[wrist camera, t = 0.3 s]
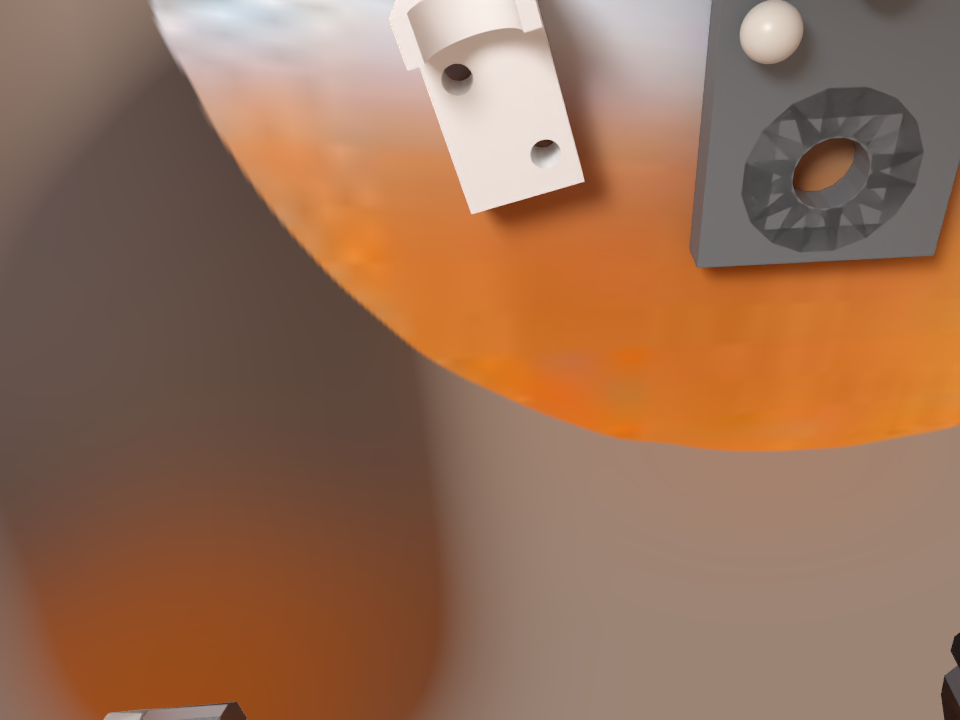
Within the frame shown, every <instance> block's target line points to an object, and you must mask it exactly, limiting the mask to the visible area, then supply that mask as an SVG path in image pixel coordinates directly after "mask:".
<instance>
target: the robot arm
mask: <svg viewBox="0 0 960 720" xmlns="http://www.w3.org/2000/svg"><path fill="white" fill-rule="evenodd" d="M951 653H952V655H953V657H954V659H955V661H956V662H957V666H956V667H955V668H954V669H952V670H951V671H950V672H948V673H947V674H946V675H945V676H944V682H943V686H942V692H941V698H942V706H943V713H944V720H960V633H958V634H957V635H956V636H955V637H954V640H953V644H952V648H951ZM246 718H247V717H246V716H245V714H244V713H243V711H242V709H241V708H240V706H239V705H238V703H237V702H230V703H219V704H209V705H197V706H185V707H173V708H163V709H145V710H135V711H125V712H116V713H108V715H107V716H106V717H105V718H104V720H246Z"/></svg>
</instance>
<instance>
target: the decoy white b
mask: <svg viewBox="0 0 960 720" xmlns="http://www.w3.org/2000/svg"><path fill="white" fill-rule="evenodd" d="M802 36H803V21H802V18H801V15H800V13H799V12H798V10H797V9H796V8H795V7H794V6H793V5H791V4H790V3H788V2H786V1H783V0H767V1H764V2H762V3H760V4H758V5H756V6H755V7H753V8H752V9H751V10H750V11H749V12H748V13H747V15H746V16H745V18H744V20H743V22H742V24H741V28H740V43H741V46H742V48H743V50H744V52H745V53H746V55H747V56H748V57H749V58H751V59H752V60H754V61H756V62H758V63H762V64H774V63H778V62H781V61H783V60H785V59H786V58H788V57H789V56H790V55H792V54H793V53H794V51H795V50H796V49H797V47H798V46H799V44H800V42H801V39H802Z"/></svg>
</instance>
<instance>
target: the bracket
mask: <svg viewBox="0 0 960 720" xmlns="http://www.w3.org/2000/svg"><path fill="white" fill-rule="evenodd" d="M389 21H390V24H391V27H392V30H393V32H394V35H395V38H396V41H397V44H398V46H399V49H400V52H401V55H402V57H403V60H404V63H405V66H406V68H407V71H409V70H412V69H415V68H418V67H419V68H420V70H421V73H422V76H423V79H424V82H425V85H426V87H427V90H428V93H429V96H430V99H431V101H432V104H433V107H434V110H435V113H436V116H437V118H438V121H439V124H440V127H441V130H442V133H443V135H444V138H445V141H446V144H447V147H448V149H449V152H450V155H451V158H452V161H453V164H454V166H455V169H456V172H457V175H458V178H459V181H460V183H461V186H462V189H463V192H464V195H465V197H466V200H467V203H468V206H469V209H470V212H471V214H474V213H478V212H481V211H485V210H488V209H492V208H495V207H499V206H502V205H505V204H509V203H512V202H516V201H519V200H523V199H526V198H530V197H533V196H537V195H540V194H543V193H547V192H550V191H554V190H557V189H561V188H564V187H568V186H571V185H575V184H578V183H582V182H585V181H584V177H583V172H582V168H581V164H580V160H579V156H578V152H577V148H576V144H575V141H574V137H573V133H572V129H571V126H570V122H569V118H568V114H567V110H566V107H565V103H564V99H563V95H562V92H561V88H560V84H559V80H558V76H557V73H556V69H555V65H554V61H553V58H552V54H551V50H550V46H549V42H548V39H547V35H546V31H545V27H544V24H543V20H542V16H541V12H540V8H539V5H538V1H537V0H396V1H395V3H394V6H393V9H392V12H391V15H390V18H389ZM452 64H462V65H464V66H466V67H467V68H469V70H470V71H471V75H470V76H469V77H468V78H467V79H465V80H462V81H455V80H452V79H450V78H449V77H448V76H447V75H446V74H445V72H444V70H445V69H446V68H447V67H448V66H450V65H452ZM541 140H552V141H554V142H553V143H552V144H551V145H549V146H547V147H537V146H535V144H536V143H537V142H538V141H541Z"/></svg>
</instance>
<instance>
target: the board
mask: <svg viewBox="0 0 960 720" xmlns="http://www.w3.org/2000/svg"><path fill="white" fill-rule="evenodd" d="M764 1H767V0H712V5H711V16H710V27H709V38H708V49H707V61H706V72H705V83H704V94H703V105H702V116H701V128H700V139H699V150H698V161H697V172H696V183H695V195H694V206H693V217H692V228H691V239H690V252H691V254H692V257H693V259H694V261H695V264H696V266H697V268H706V267H725V266H744V265H763V264H783V263H802V262H821V261H840V260H859V259H879V258H898V257H917V256H934V253H935V249H936V245H937V242H938V238H939V234H940V231H941V227H942V223H943V220H944V216H945V212H946V209H947V205H948V201H949V198H950V194H951V190H952V187H953V183H954V179H955V176H956V172H957V169H958V165H959V161H960V0H783V1H786V2H788V3H790V4H791V5H793V6H794V7H795V8H796V9H797V10H798V12H799V13H800V15H801V18H802V21H803V36H802V39H801V42H800V44H799V46H798V47H797V49H796V50H795V51H794V53H793V54H792V55H790V56H789V57H788V58H786V59H785V60H783V61H781V62H778V63H774V64H762V63H758V62H756V61H754V60H752V59H751V58H749V57H748V56H747V55H746V53H745V52H744V50H743V48H742V46H741V43H740V28H741V24H742V22H743V20H744V18H745V16H746V15H747V13H748V12H749V11H750V10H751V9H752V8H753V7H755V6H756V5H758V4H760V3H762V2H764ZM831 138H848V139H850V140H853V141H854V144H855V148H856V150H855V155H854V160H853V164H852V165H851V167H850V168H849V170H848V172H847V173H846V175H845V176H844V177H843V178H841V179H840V180H839V181H838V182H837V183H835V184H834V185H833V186H830V187H828V188H825V189H823V190H820V191H809V192H805V191H802V190H799V189H796V188H794V187H793V184H792V181H793V175H794V169H795V167H796V166H797V164H798V162H799V161H800V159H801V157H802V156H803V155H804V154H805V153H806V152H807V151H808V150H810V149H811V148H812V147H813V146H814V145H816V144H818V143H821V142H823V141H826V140H828V139H831Z"/></svg>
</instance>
